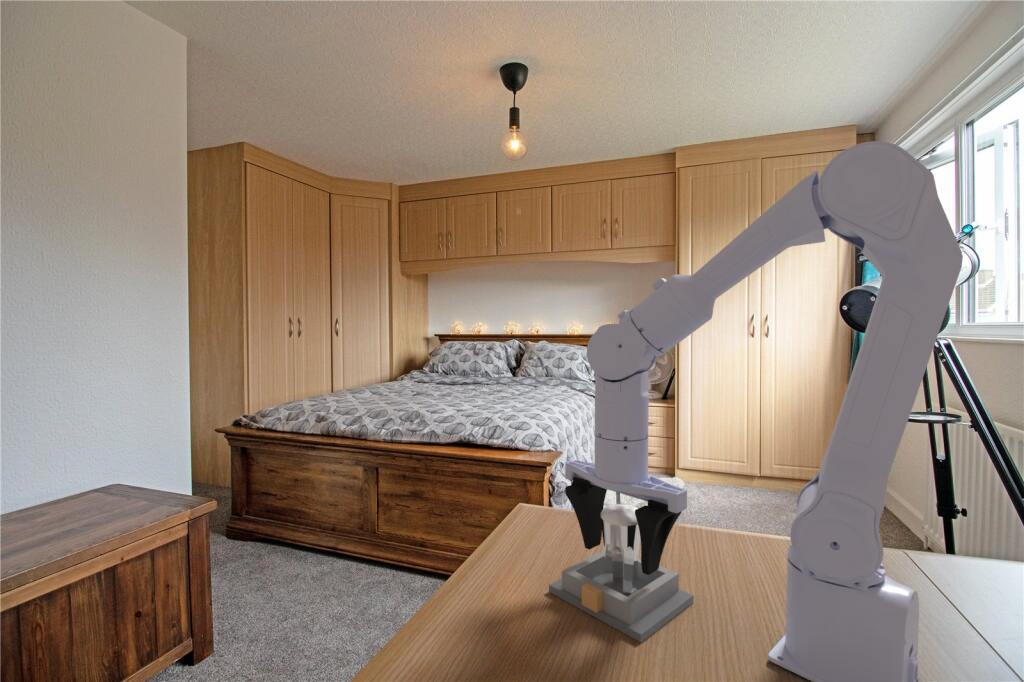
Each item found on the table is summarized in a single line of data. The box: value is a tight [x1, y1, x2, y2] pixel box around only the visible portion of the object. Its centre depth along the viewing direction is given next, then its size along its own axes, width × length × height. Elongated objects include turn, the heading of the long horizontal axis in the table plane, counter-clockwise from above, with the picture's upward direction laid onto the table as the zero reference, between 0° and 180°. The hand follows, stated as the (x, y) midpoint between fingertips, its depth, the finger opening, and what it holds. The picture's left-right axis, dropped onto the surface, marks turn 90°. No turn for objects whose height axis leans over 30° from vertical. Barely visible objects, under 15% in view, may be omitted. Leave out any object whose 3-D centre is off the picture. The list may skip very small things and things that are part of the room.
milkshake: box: [601, 492, 641, 594], centre depth 56 cm, size 4×5×10 cm
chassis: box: [548, 549, 695, 644], centre depth 55 cm, size 12×10×3 cm
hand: (620, 557), depth 55 cm, fingers open, 7 cm apart
